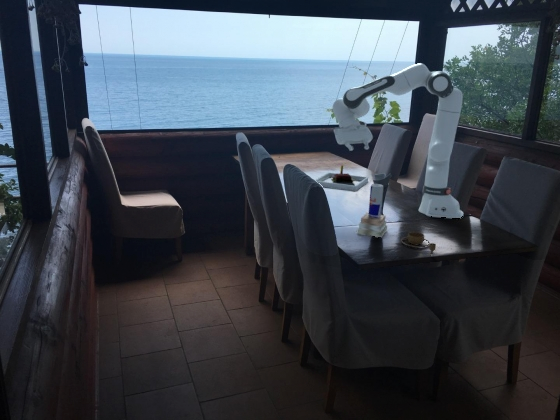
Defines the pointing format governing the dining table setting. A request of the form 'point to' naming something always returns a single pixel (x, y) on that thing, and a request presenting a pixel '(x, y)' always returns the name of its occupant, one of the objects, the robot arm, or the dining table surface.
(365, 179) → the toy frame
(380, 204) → the beverage can
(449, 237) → the dining table surface
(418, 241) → the place setting
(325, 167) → the dining table surface
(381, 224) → the stacked square slabs
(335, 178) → the fire station toy set
